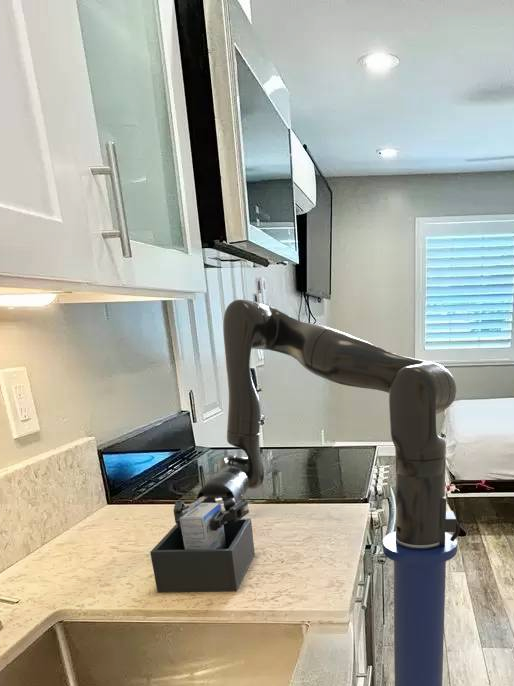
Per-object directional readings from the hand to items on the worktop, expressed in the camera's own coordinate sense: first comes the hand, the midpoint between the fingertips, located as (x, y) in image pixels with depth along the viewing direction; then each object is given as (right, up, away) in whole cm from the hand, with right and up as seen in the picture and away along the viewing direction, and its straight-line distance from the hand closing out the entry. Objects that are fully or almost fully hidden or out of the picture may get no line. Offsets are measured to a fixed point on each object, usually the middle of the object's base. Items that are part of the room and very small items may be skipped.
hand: (197, 525), depth 98 cm
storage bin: (0, -8, +6) cm, 10 cm away
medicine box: (0, -5, +5) cm, 7 cm away
